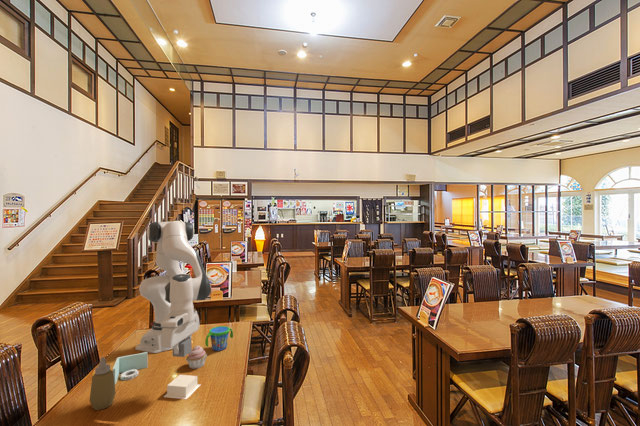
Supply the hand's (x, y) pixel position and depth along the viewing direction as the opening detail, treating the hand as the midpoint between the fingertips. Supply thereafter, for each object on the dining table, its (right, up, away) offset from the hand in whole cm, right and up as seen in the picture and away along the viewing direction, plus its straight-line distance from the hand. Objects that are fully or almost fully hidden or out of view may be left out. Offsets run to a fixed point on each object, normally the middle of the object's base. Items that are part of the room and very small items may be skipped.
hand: (182, 349), depth 121 cm
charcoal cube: (0, -2, 0) cm, 2 cm away
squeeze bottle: (-26, -18, -8) cm, 33 cm away
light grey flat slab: (-1, -17, 0) cm, 17 cm away
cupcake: (-2, -18, +21) cm, 27 cm away
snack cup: (+2, -18, +40) cm, 44 cm away
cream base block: (0, -17, 0) cm, 17 cm away
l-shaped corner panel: (-29, -19, +13) cm, 37 cm away
